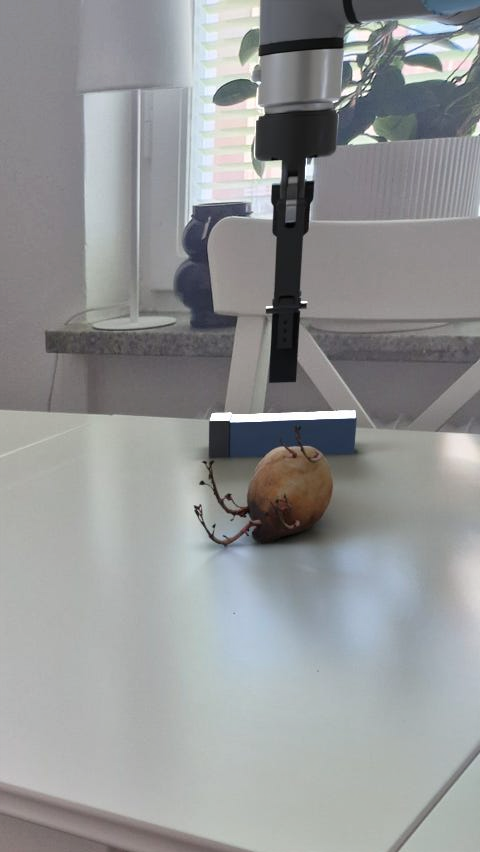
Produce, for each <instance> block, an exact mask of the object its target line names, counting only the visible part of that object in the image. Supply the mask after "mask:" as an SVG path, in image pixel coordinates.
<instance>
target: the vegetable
mask: <svg viewBox="0 0 480 852" xmlns="http://www.w3.org/2000/svg"><path fill="white" fill-rule="evenodd" d="M294 428H295V429H294V430H295V434H296V432H297V434H298V438H297V435H296V440H297V441H298V443H299V445H300V447H296V446H295V447H287V446H285V444H284V443H282V439H281V438H280V442H281V444H282V446H284V447H278V448H275V449H273V450H272V451H270V452H269V453H268V454H267V455H266V456H264V457H263V458H262V459H261V460H260V461H259V463H258V464H257V465H256V467H255V469H254V471H253V474H252V479H251V480H250V483H249V485H248V488H247V493H246V506H240V505H238V504H237V503H236V502H235V501H234V498H233V497H232V495H233V493H230V492H229V493H226V494H225V495H224V496H223V498H221V496H220V493H219V491H218V488H217V485H216V482H215V481H216V480H215V478H214V471H213V464H214V463H215V460H212V459H211V460H210V461H209V462H208V461H206V460H203V461H201V463H202V464H204V465H205V467H206V469H207V471H208V480H211V481H210V483H211V485H212V486H211V485H210V484H209V483H206V482H205V481H204V480H203V479H202V480H200V481H199V483H198V485H199V486H208V487H210V488H211V490H212V492H213V496H215V499H216V501H217V503H218V504H219V505H220V508H222V509H223V510H224V512H225V513H227V514H229V515H232V516H233V517H232V518H231V519H230V520H229V521H230V522H233V521H234V520H235V516H239V517H240V518H245V519H246V518H247V516H248V517H249V518H250V519H249V522H247V523H246V525H244V527H243V528H242V529H240V531H238V532H237V533H236V534H235V535H234V536H230V537H228V536H227V535H225V534H222V537H223V538H225V539H218V538H217V537H216V536H215V529H216V523H214V524H213V525H212V526H211V527H212V529H213V530H212V533H211V532H210V530H209V529H208V527H207V525H206V522H205V521H204V520H205V519H204V516H203V515H204V513H203V505H202V504H198V505H193V508H194V510H193V511H194V513H195V515H196V517H197V519H198V521H199V522H200V524H201V525H202V527H203V529H205V532H206V533H207V536H208V538H209V539H210V540H211V541H212V542H214V543H216V544H218V545H222V546H224V547H225V548H226V547H227V546H228V545H230V544H232V543H234V542H235V541H237V540H238V539H240V538H241V537H242V536H243V535H244V534H245V535H246V537H250V534H249V532H251V536H252V539H253V540H254V541H256V542H257V543H258V544H263V545H264V544H269V543H270V542H272V541H274V540H276V539H277V538H283V537H287V536H291V535H295V534H299V533H302V532H304V531H306V530H308V529H309V528H311V527H313V526H314V525H315V524H316V523H317V522H319V521H320V519H321V518H322V517H323V515H324V514H325V512H326V510H327V509H328V507H329V505H330V503H331V498H332V496H333V491H334V479H333V475H332V470H331V468H330V465H329V463H328V461H327V459H326V458H325V455H323V454H322V453H321V452H320V451H318V450H317V449H315V448H313V447H310V446H302V443H301V440H300V439H301V437H300V436H301V434H299V430H300V429H301V426H299V428H298V429H297V426H296V425H295V424H294ZM297 430H298V431H297ZM207 464H208V465H209V466H208V465H207ZM225 499H226V501H228V502H230V501H231V502H232V504H233V505H234V506H235V507H236V508H239V509H232V508H229V507H228V506H226V504H225V501H224V500H225ZM252 527H254V528H253V530H252V531H251V530H250V529H251V528H252Z"/></svg>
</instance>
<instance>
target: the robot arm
mask: <svg viewBox="0 0 480 852" xmlns="http://www.w3.org/2000/svg"><path fill="white" fill-rule="evenodd" d="M409 19H411V20H412V19H414V20H421V21H427V22H437V23H438V24H441V25H444V26H454V27H462V26H466V25H469V24H472V23H474V22H476V21H480V0H259V32H258V33H259V34H258V36H259V37H258V40H259V41H258V51H257V53H258V62H257V63H258V65H259V66H260V69H254V70H252V71H251V74H250V78H249V79H250V82H251V83H255V84H256V83H259V84H258V86H257V88H256V106H257V107H258V108H259V109H262V113H263V115H258V116H257V119H256V120H255V121H254V123H255V124H254V147H253V156H254V159H255V160H256V161H257V162H276V161H278V162H279V161H281V166H280V167H281V168H280V181H279V182H273V183H272V184H271V189H270V190H271V191H270V195H271V196H270V203H271V205H272V224H271V225H272V228H271V232H272V234H273V236H274V237H276V243H275V264H274V265H275V266H274V289H273V298H272V301H271V305H270V306H267V305H266V307H265V314H266V315H271V314H272V315H271V330H270V331H271V333H270V351H269V353H270V354H269V373H268V374H269V375H268V384H279V383H281V384H282V383H283V384H285V383H297V373H298V358H299V357H298V356H299V355H298V354H299V340H300V324H301V323H300V322H301V310H307V309H308V301H302V290H301V279H302V264H303V263H302V262H303V245H304V236H306V234H308V232H309V230H310V217H311V204H312V202H313V201H314V195H315V179H313V180H307V163H308V162H307V161H308V159H317V158H318V159H319V158H327V157H328V158H329V157H332V156H333V155H334V154H335V153H336V151H337V147H338V132H339V117H340V113H337V112H338V110H337V109H334V103H338V102H339V101H340V100H341V97H342V96H341V95H342V83H343V71H344V70H343V69H344V67H343V66H344V52H345V49H344V45H345V40H344V38H345V31H346V28H347V27H346V26H351V25H352V26H357V25H362V24H363V25H364V24H369V23H378V22H389V21H397V20H399V21H400V20H409Z"/></svg>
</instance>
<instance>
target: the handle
mask: <svg viewBox="0 0 480 852" xmlns="http://www.w3.org/2000/svg"><path fill="white" fill-rule="evenodd" d="M357 419H358V416H357V411H356V410H337V411H336V410H334V411H309V412H281V413H277V412H276V413H254V414H253V413H251V414H250V413H249V414H248V413H247V414H233V413H232V412H215V413H211V415H210V418H209V420H208V459H228V458H229V459H230V458H257V457H261V458H262V457H263V458H264V457H265V456H266V455H267V454H268V453H269V452H270V451H272V450H273V449H275V448H278V447H284V446H282V444H281V442H280V438H281V439H282V443H284V444H285V446H287V447H295V446H296V447H300V445H299V443H298V441H297V440H296V435H297V438H298V434H297V432H296V434H295V430H294V429H295V428H294V424H295V425H296V426H297V429H298V428H299V426H301V429H300V430H299V434H301V436H300V437H301V439H300V440H301V443H302V446H310V447H313V448H315V449H317V450H318V451H320V452H321V453H322V454H323V456H329V455H333V456H334V455H355V447H356V446H355V445H356V436H357V435H356V434H357V423H358V422H357V421H358V420H357ZM297 431H298V430H297Z"/></svg>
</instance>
